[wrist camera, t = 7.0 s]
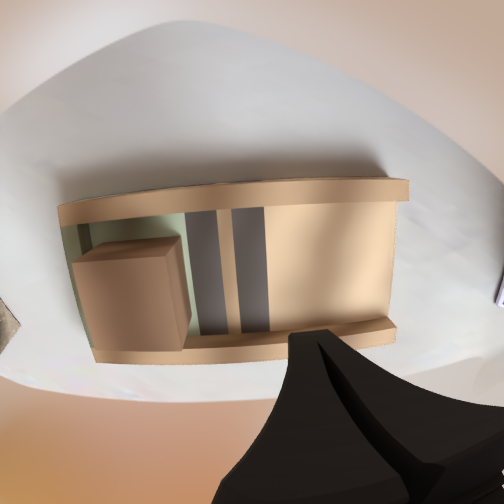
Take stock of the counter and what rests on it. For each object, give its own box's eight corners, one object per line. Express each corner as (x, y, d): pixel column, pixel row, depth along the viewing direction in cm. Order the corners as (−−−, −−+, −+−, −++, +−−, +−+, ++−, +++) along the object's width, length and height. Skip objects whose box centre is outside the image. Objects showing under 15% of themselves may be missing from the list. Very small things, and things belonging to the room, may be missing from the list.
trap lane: (389, 177, 18) (408, 180, 15) (380, 325, 20) (394, 343, 18) (77, 200, 17) (57, 206, 15) (108, 343, 20) (95, 362, 18)
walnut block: (181, 235, 17) (165, 256, 13) (192, 315, 18) (181, 351, 15) (102, 242, 17) (71, 262, 13) (118, 317, 18) (95, 350, 15)
